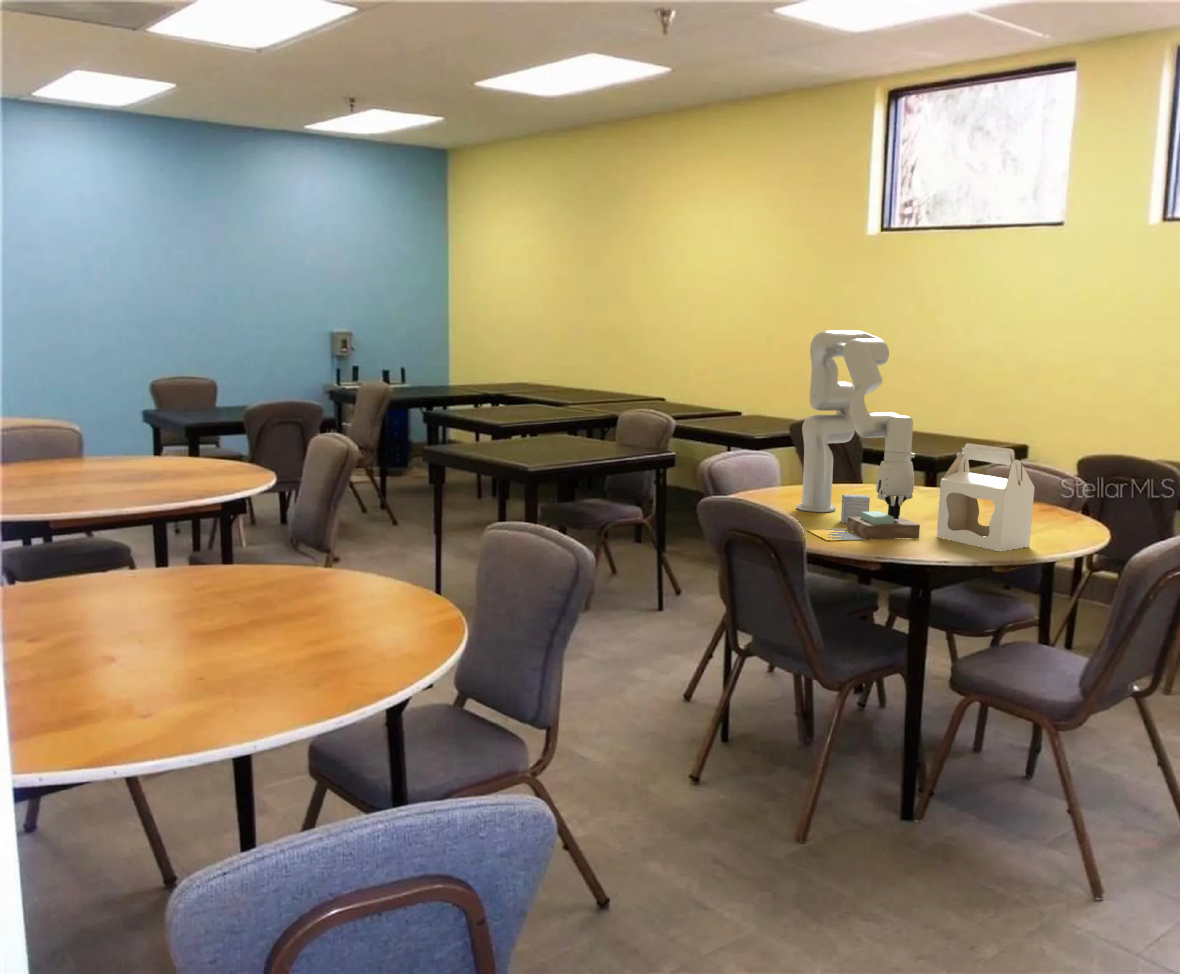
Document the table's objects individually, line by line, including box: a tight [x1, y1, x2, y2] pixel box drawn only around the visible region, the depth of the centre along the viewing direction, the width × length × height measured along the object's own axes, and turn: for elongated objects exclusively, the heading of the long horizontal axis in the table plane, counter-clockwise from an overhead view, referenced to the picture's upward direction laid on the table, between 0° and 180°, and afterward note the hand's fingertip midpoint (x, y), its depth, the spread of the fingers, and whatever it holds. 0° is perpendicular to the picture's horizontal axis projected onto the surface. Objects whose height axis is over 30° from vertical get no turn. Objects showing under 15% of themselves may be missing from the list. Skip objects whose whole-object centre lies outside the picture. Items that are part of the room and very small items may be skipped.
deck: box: [846, 516, 921, 540], centre depth 304 cm, size 14×16×4 cm
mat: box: [824, 528, 867, 541], centre depth 302 cm, size 15×12×1 cm
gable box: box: [936, 442, 1035, 553], centre depth 293 cm, size 22×13×28 cm, turn 32°
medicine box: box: [840, 494, 871, 525], centre depth 320 cm, size 8×4×9 cm, turn 84°
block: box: [861, 510, 894, 524], centre depth 303 cm, size 9×6×2 cm, turn 11°
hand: (893, 518), depth 304 cm, fingers closed
